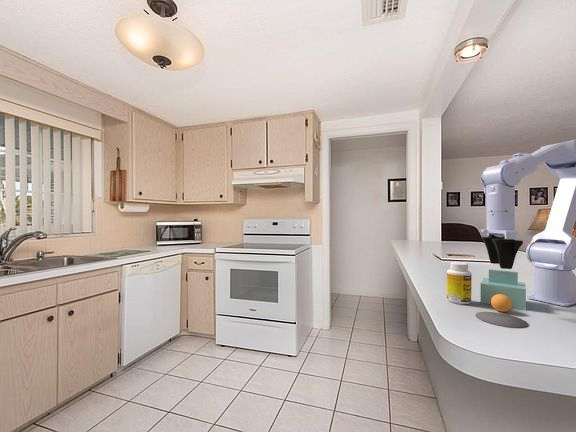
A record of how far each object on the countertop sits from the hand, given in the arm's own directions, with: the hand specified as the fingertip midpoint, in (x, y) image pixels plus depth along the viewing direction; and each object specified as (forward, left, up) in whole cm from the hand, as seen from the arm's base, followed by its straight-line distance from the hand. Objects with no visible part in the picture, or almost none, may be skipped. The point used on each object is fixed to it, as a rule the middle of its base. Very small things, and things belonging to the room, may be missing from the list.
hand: (500, 266), depth 70 cm
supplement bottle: (+6, -7, -10) cm, 14 cm away
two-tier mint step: (-4, -2, -10) cm, 11 cm away
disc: (+11, +5, -10) cm, 16 cm away
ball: (+4, +2, -8) cm, 9 cm away
